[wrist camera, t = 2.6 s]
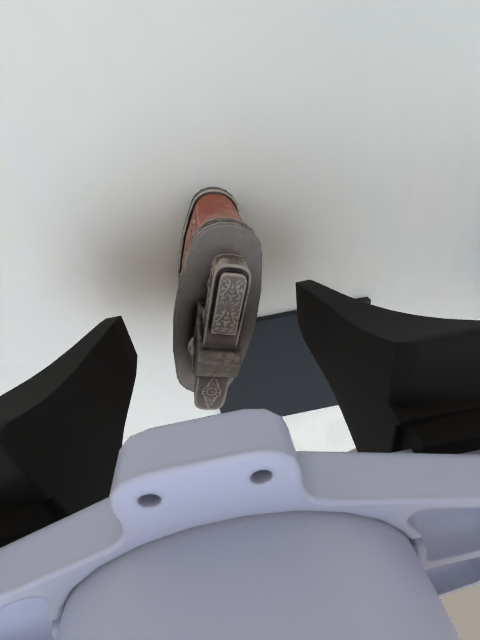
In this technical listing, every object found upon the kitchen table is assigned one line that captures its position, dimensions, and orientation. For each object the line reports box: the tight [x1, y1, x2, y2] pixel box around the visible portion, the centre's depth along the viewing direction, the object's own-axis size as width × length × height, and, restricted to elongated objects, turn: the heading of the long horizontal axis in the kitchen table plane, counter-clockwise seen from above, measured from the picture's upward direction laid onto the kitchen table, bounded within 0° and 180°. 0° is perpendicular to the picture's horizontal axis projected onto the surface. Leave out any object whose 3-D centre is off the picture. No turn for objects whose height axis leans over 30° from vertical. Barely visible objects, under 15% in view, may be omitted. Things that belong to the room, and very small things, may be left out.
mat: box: [220, 297, 371, 416], centre depth 25 cm, size 12×10×1 cm
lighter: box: [173, 187, 262, 410], centre depth 15 cm, size 8×3×10 cm, turn 170°
